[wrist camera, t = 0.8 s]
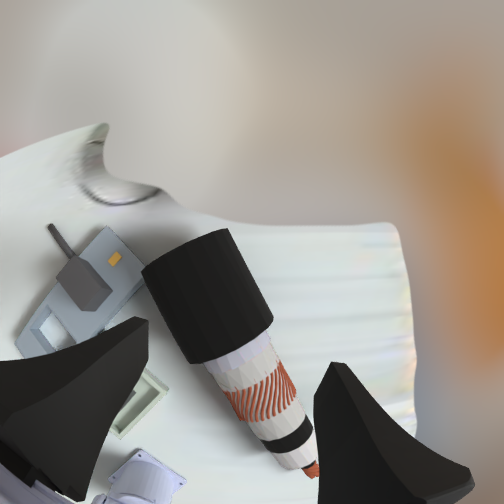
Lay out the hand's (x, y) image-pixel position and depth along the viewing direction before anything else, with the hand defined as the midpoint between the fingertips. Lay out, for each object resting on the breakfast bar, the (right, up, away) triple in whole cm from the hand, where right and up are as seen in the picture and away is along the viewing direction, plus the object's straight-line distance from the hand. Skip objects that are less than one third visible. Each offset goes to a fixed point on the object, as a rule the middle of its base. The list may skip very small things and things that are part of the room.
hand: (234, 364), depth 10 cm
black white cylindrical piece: (+1, -12, +22) cm, 25 cm away
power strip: (-25, -1, +20) cm, 32 cm away
